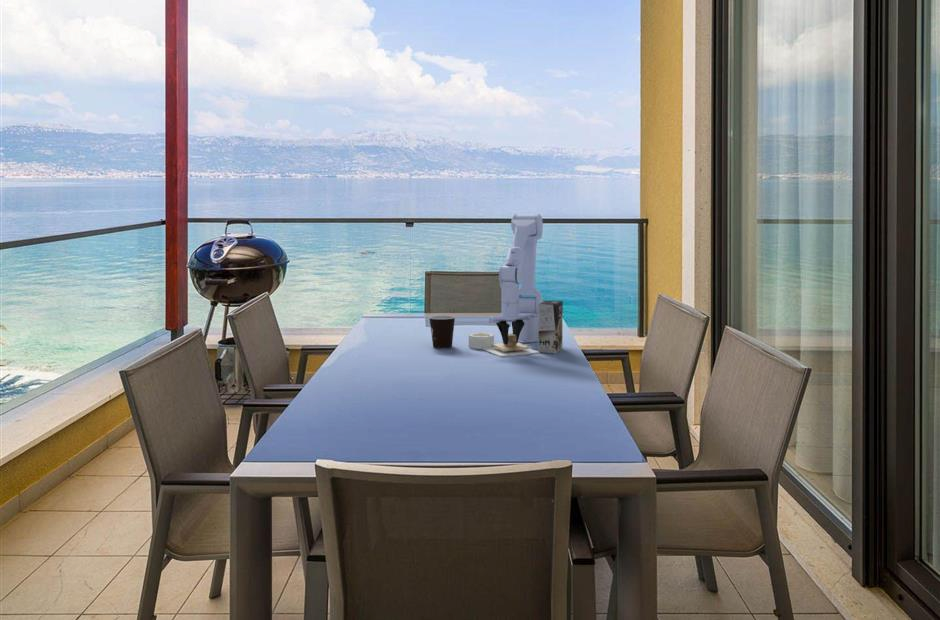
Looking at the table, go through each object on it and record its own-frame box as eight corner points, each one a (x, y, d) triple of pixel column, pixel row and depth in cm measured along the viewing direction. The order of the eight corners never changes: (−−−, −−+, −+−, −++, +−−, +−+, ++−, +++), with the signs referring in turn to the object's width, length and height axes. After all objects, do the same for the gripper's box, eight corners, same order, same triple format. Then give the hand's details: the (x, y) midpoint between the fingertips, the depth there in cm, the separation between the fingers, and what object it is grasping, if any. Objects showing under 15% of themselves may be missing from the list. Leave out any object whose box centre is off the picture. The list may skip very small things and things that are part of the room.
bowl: (487, 343, 293) (487, 332, 292) (497, 347, 286) (497, 335, 285) (465, 345, 290) (465, 333, 289) (475, 349, 283) (475, 337, 282)
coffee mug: (452, 349, 283) (451, 319, 282) (427, 348, 285) (426, 319, 284) (459, 342, 295) (459, 314, 293) (435, 342, 296) (434, 313, 295)
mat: (519, 346, 288) (519, 344, 288) (539, 353, 275) (539, 352, 275) (482, 349, 282) (482, 348, 282) (500, 357, 270) (500, 355, 270)
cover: (516, 344, 285) (516, 331, 284) (528, 349, 277) (528, 336, 276) (491, 346, 281) (491, 333, 280) (503, 351, 273) (503, 338, 272)
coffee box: (557, 353, 275) (557, 304, 272) (537, 352, 277) (537, 303, 274) (563, 348, 283) (563, 300, 281) (544, 347, 285) (544, 299, 283)
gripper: (495, 305, 270) (495, 347, 272) (535, 302, 276) (535, 343, 278) (486, 302, 276) (486, 343, 278) (525, 299, 282) (525, 340, 284)
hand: (510, 343), depth 278 cm, fingers closed on cover, 3 cm apart
